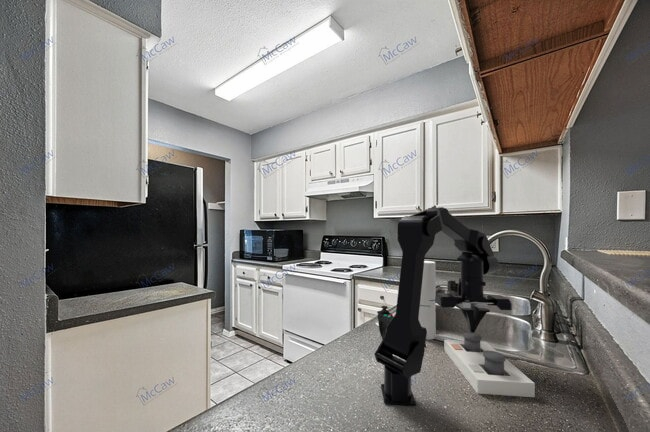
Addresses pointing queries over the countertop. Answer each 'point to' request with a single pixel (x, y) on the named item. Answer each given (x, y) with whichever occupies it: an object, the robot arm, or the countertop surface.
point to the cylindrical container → (428, 300)
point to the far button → (472, 342)
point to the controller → (384, 320)
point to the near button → (494, 363)
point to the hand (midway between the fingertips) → (472, 332)
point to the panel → (479, 379)
